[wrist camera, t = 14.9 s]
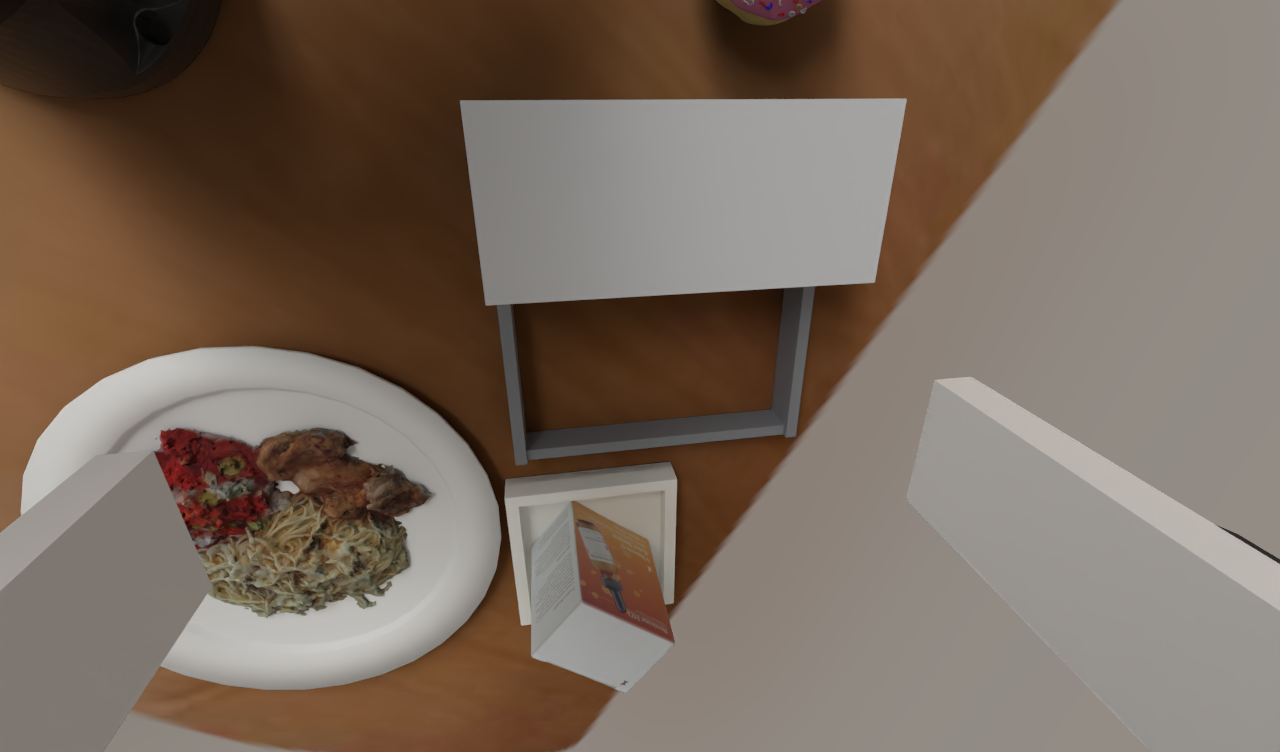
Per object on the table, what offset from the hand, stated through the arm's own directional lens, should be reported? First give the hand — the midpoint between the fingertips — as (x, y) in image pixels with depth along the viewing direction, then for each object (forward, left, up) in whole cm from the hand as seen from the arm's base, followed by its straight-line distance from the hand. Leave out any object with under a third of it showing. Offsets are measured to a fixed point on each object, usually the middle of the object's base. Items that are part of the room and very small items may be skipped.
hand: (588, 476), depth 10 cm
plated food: (-20, -22, -29) cm, 42 cm away
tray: (+2, -26, -29) cm, 39 cm away
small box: (+2, -26, -28) cm, 38 cm away
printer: (+7, -5, -29) cm, 30 cm away
